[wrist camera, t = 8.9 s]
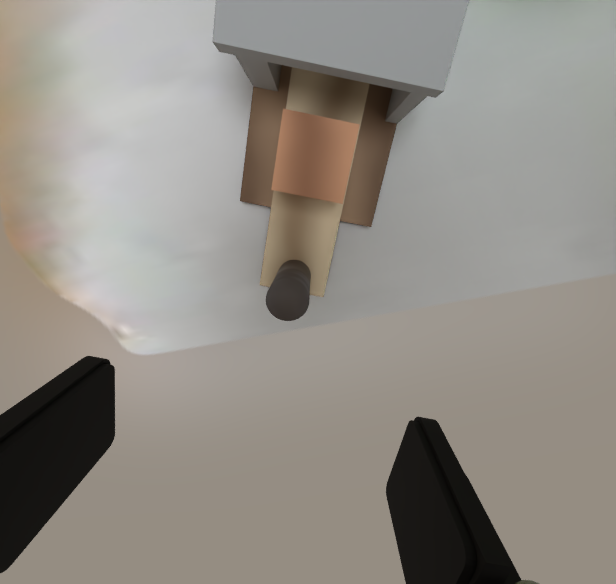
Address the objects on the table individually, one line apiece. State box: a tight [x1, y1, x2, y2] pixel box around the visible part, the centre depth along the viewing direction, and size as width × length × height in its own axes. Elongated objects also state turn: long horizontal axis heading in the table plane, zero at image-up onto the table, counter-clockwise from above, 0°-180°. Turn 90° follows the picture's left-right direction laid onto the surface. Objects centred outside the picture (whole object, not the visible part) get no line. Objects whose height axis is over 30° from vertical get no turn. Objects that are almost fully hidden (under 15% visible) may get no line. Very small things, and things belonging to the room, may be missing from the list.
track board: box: [240, 65, 397, 227], centre depth 24 cm, size 12×27×1 cm, turn 169°
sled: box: [260, 67, 369, 321], centre depth 22 cm, size 6×22×8 cm, turn 169°
